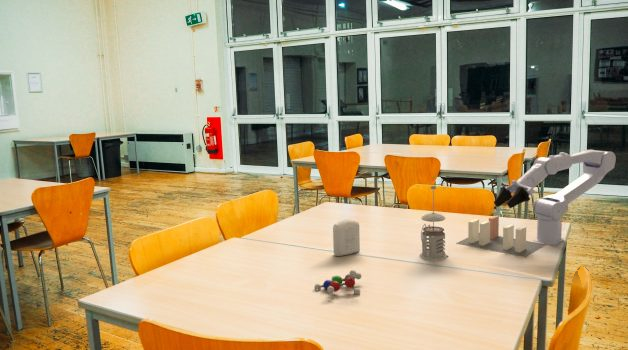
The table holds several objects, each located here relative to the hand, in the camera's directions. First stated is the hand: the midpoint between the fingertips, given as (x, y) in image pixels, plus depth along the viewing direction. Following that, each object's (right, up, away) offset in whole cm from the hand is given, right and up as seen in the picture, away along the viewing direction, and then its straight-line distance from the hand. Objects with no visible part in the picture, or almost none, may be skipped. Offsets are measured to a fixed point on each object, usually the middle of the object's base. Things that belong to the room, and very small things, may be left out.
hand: (501, 205), depth 178 cm
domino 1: (-6, -14, +12) cm, 19 cm away
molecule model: (-58, -24, -27) cm, 68 cm away
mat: (+2, -15, +8) cm, 17 cm away
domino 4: (+6, -16, 0) cm, 17 cm away
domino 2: (-3, -15, +9) cm, 17 cm away
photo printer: (-54, -18, +6) cm, 57 cm away
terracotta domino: (+3, -13, +16) cm, 21 cm away
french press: (-25, -18, -2) cm, 31 cm away
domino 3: (+3, -15, +3) cm, 16 cm away
